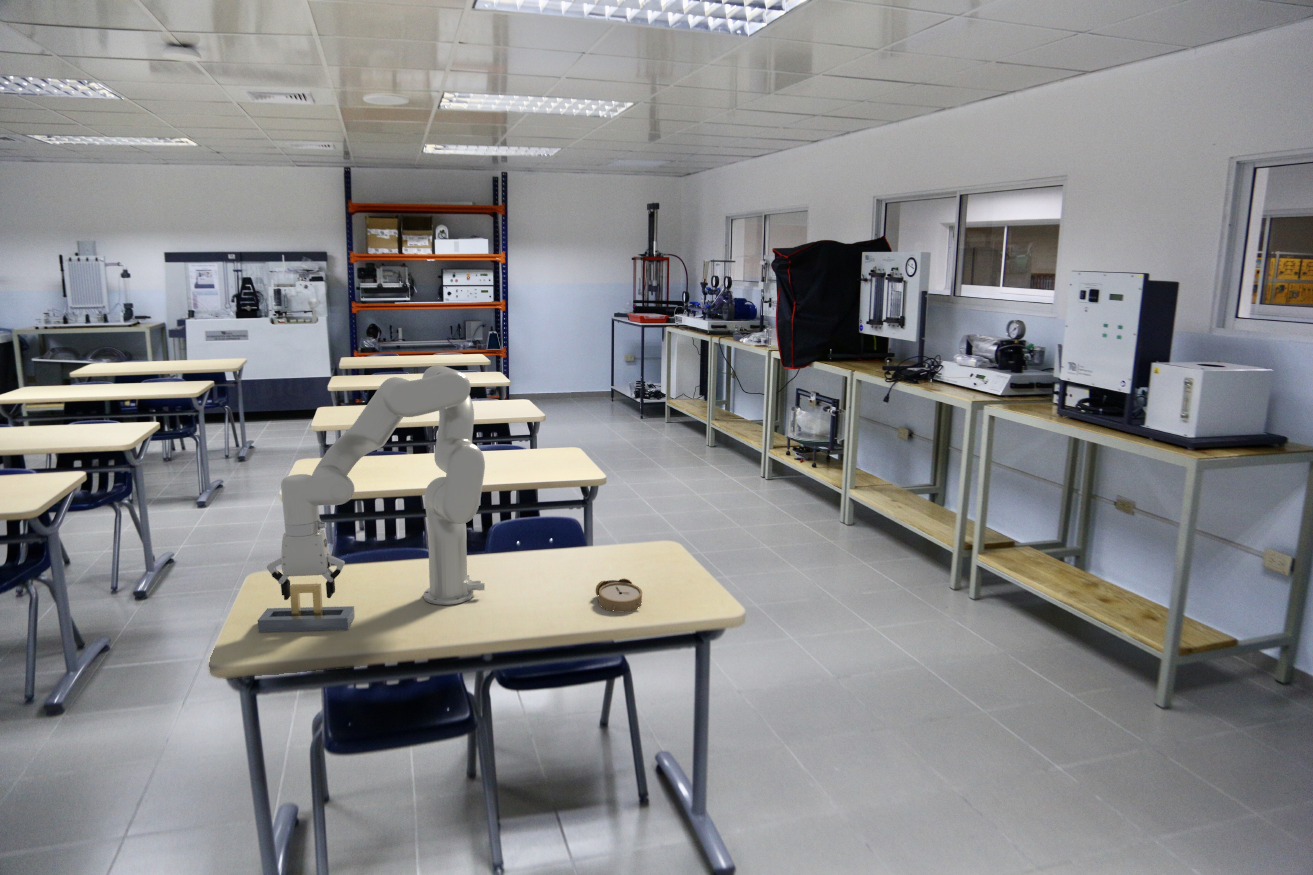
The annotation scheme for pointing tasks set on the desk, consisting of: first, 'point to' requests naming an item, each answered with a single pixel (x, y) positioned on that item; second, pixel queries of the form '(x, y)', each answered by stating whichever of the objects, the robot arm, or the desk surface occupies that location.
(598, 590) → the alarm clock
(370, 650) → the desk surface
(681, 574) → the desk surface
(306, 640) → the desk surface
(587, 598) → the desk surface
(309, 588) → the wooden u-shaped block
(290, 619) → the rail
